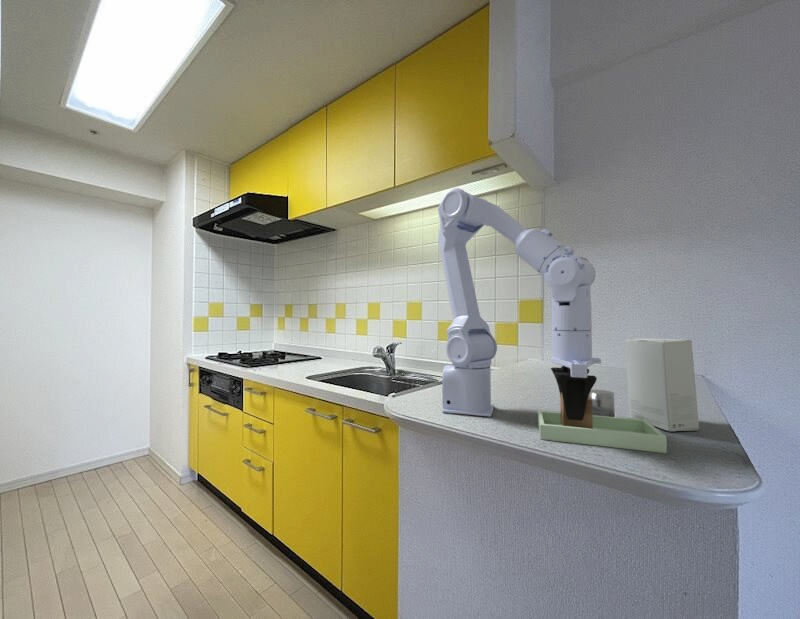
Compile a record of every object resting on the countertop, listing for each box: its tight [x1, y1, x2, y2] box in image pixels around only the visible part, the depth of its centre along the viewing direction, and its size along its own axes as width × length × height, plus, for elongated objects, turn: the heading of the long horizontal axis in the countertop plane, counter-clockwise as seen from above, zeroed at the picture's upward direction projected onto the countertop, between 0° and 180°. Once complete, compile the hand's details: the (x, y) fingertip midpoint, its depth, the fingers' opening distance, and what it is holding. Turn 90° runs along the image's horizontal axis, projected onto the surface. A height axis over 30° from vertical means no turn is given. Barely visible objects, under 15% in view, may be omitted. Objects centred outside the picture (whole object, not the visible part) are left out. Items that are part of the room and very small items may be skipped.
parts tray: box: [537, 410, 668, 454], centre depth 52 cm, size 16×8×2 cm, turn 70°
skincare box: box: [624, 338, 700, 432], centre depth 58 cm, size 8×6×15 cm
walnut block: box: [559, 392, 593, 429], centre depth 53 cm, size 4×4×5 cm
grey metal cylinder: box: [589, 389, 616, 417], centre depth 60 cm, size 4×4×5 cm
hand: (572, 415), depth 53 cm, fingers closed on walnut block, 4 cm apart
